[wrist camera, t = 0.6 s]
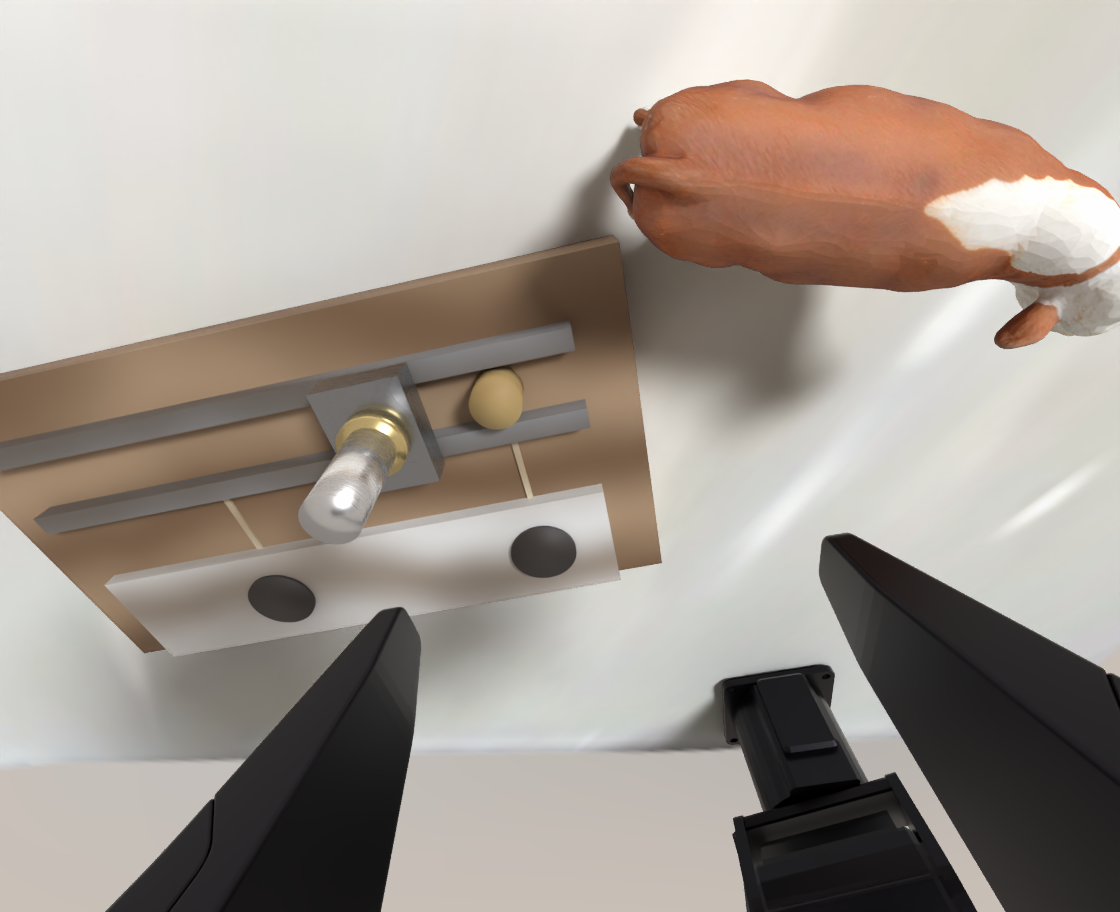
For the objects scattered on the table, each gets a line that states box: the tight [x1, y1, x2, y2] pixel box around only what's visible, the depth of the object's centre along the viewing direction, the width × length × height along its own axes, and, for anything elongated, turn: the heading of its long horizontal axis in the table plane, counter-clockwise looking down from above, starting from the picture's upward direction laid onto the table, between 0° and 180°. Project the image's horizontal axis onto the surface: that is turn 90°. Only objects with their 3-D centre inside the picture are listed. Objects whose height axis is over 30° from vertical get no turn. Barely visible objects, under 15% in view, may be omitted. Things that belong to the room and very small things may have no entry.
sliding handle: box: [298, 362, 445, 545], centre depth 15 cm, size 4×3×5 cm
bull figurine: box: [610, 80, 1120, 349], centre depth 13 cm, size 4×13×8 cm, turn 77°
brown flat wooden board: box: [0, 235, 662, 657], centre depth 20 cm, size 14×26×3 cm, turn 102°
